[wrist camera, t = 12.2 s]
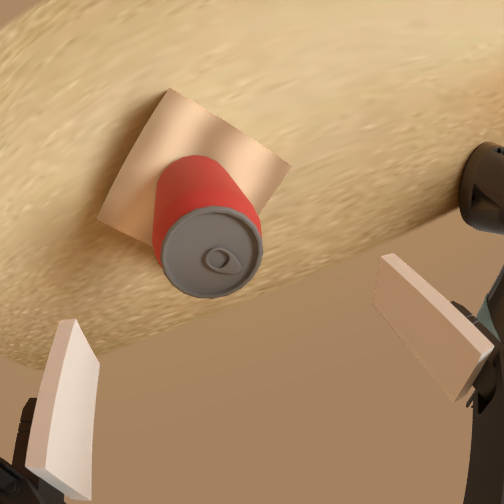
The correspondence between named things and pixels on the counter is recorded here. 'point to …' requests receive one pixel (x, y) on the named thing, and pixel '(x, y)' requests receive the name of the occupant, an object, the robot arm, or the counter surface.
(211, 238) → the beer can
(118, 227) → the maple base
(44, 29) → the counter surface
